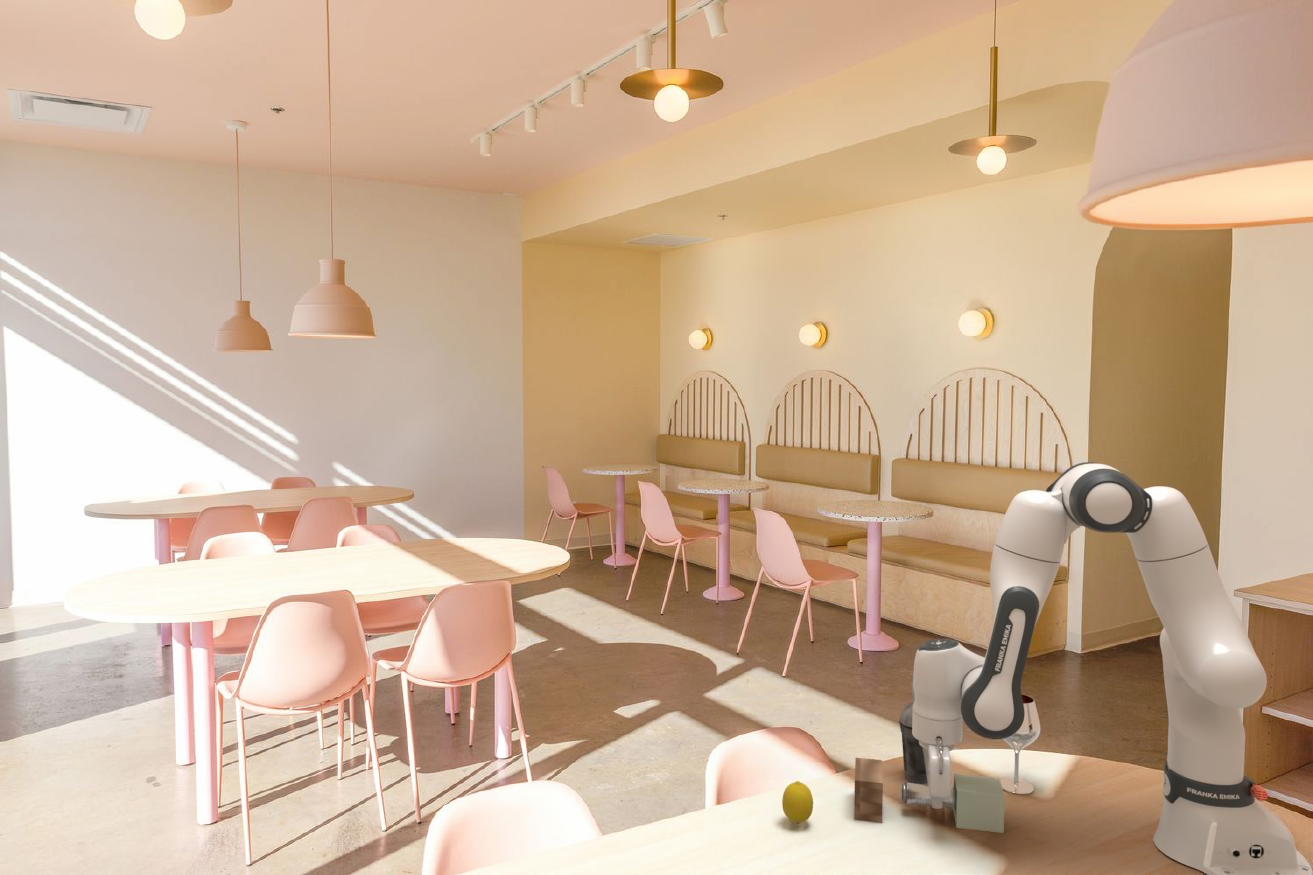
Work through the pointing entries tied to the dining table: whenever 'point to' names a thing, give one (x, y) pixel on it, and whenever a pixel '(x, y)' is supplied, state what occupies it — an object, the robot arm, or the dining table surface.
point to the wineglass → (1022, 745)
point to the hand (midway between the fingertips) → (935, 800)
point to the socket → (868, 790)
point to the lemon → (797, 802)
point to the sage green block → (979, 803)
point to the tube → (924, 795)
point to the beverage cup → (912, 748)
